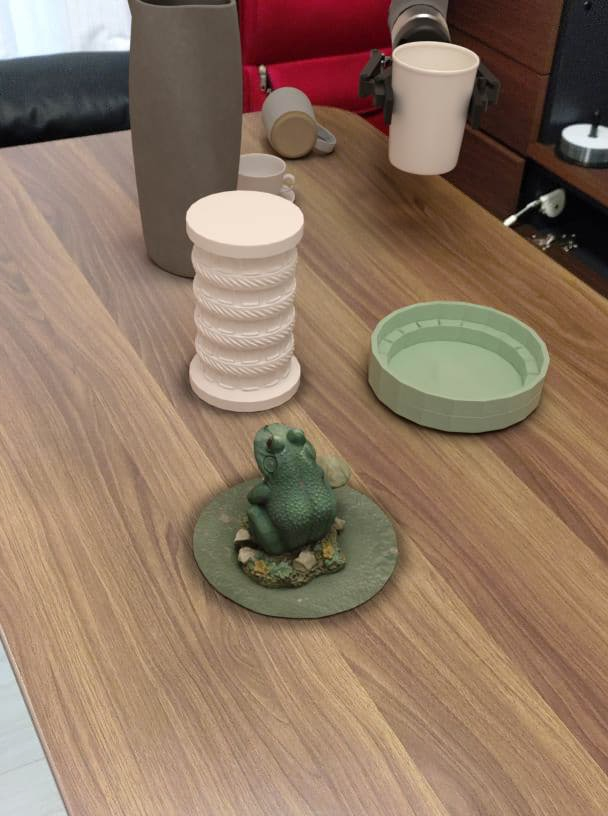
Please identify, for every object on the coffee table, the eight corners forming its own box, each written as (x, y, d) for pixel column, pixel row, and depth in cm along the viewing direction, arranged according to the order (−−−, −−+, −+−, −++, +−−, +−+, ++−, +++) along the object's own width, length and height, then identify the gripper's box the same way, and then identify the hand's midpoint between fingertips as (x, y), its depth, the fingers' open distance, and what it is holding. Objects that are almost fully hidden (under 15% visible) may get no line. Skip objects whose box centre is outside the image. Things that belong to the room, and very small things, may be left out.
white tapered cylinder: (370, 168, 116) (380, 61, 107) (397, 138, 122) (408, 35, 114) (449, 185, 113) (465, 77, 105) (472, 154, 120) (489, 50, 111)
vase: (244, 287, 115) (243, 10, 94) (139, 287, 114) (115, 7, 93) (241, 237, 124) (241, -26, 103) (144, 237, 123) (124, -30, 102)
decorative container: (193, 415, 97) (186, 249, 85) (185, 350, 105) (177, 190, 93) (308, 408, 99) (317, 244, 86) (291, 345, 107) (297, 186, 94)
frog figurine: (334, 454, 94) (342, 352, 86) (437, 577, 83) (458, 473, 75) (161, 508, 87) (152, 403, 79) (248, 649, 76) (248, 544, 68)
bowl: (526, 340, 110) (535, 305, 107) (552, 441, 97) (562, 405, 94) (365, 332, 109) (369, 296, 106) (369, 432, 96) (374, 395, 93)
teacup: (212, 209, 129) (211, 175, 126) (232, 178, 136) (232, 145, 133) (285, 220, 128) (286, 185, 125) (302, 188, 135) (303, 154, 132)
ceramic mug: (269, 162, 140) (271, 107, 135) (260, 139, 146) (261, 85, 141) (340, 160, 142) (345, 107, 137) (329, 137, 148) (333, 85, 142)
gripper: (500, 82, 128) (523, 153, 112) (334, 73, 128) (333, 143, 112) (511, 20, 123) (537, 85, 107) (338, 11, 123) (337, 74, 107)
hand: (433, 114), depth 109 cm, fingers closed on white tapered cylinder, 9 cm apart
